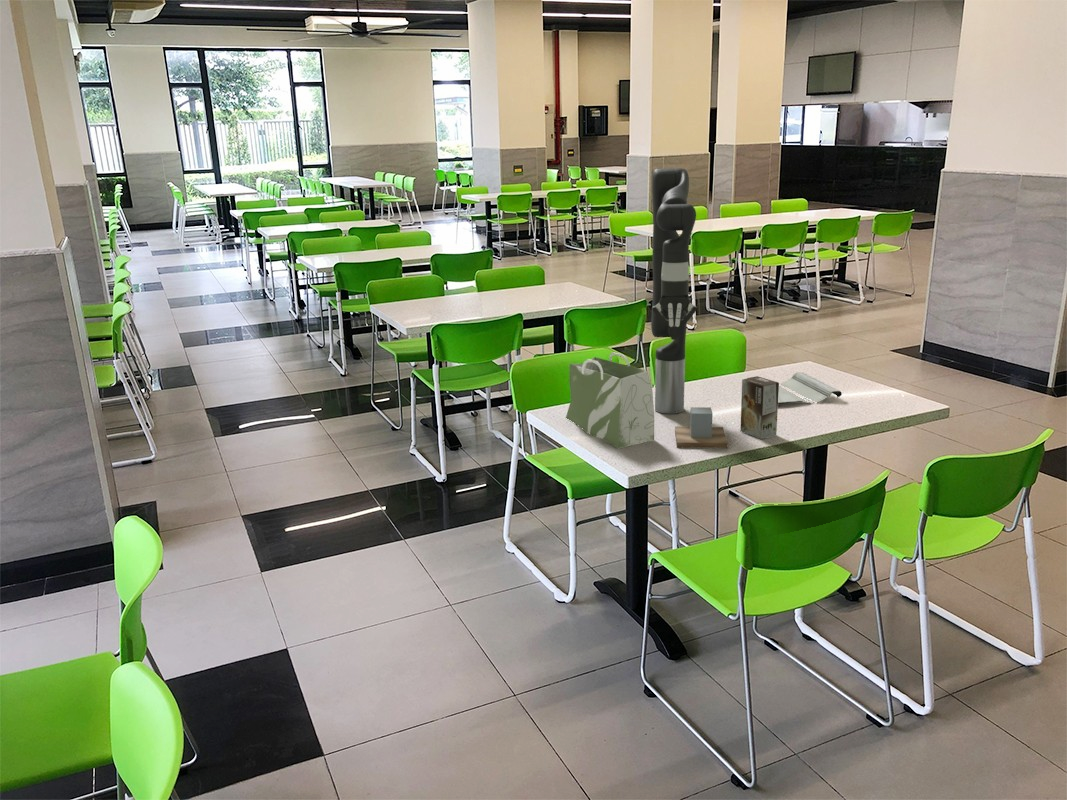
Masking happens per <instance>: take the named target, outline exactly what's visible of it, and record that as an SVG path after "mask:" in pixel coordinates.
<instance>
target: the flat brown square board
mask: <svg viewBox="0 0 1067 800" xmlns="http://www.w3.org/2000/svg"><path fill="white" fill-rule="evenodd" d="M674 434H675V443H676V448H681V447H683V449H684V448H686V449H688V448H689V449H690V448H695V449H696V448H698V449H700V448H701V449H702V448H703V449H706V448H707V449H728V448H729V446H728V445H729V442H728V439H727V436H726V433H725V429H724V426H712V438H691V435H690V426H678V425H677V426H674Z"/></svg>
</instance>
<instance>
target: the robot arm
mask: <svg viewBox="0 0 1067 800" xmlns="http://www.w3.org/2000/svg"><path fill="white" fill-rule="evenodd" d="M689 188H690V177H689V173H688V171H687V170H686V169H685V168H682V167H676V168H675V167H674V168H671V167H670V168H655V169H654V170H653V172H652V177H651V195H652V202H651V203H652V219H653V220H652V221H653V222H652V223H653V227H652V232H653V233H652V256H651V257H652V301H651V302H652V303H651V321H650V325H651V334H652V336H653V337H655V338H670V339H671V340H672V341H670V342H669V343H667V344H665V345H662V346H659V347H658V348H656V349H655V366H654V367H655V370H654V371H655V374H654V375H655V381H654V384H655V386H654V387H655V388H654V389H655V391H654V395H655V396H654V411H656V412H658V413H661V414H670V415H671V414H679V413H682V412H684V410H685V382H686V381H685V378H686V377H685V376H686V339H687V338H686V337H687V323H688V321H690V319H691V318H692V317H693V315H694V314H696V312H697V310H698V307H697V305H694V304H693V303H691V300H690V297H689V291H690V290H689V289H690V287H689V286H690V285H689V284H690V282H689V281H690V267H689V250H690V249H689V248H690V240H691V236H692V232H693V230H694V226H695V224H696V223H695V222H696V219H697V211H696V208H695V206H693V205H692V204H690V203H688V201H687V200H688V197H689V190H690V189H689ZM678 231H679V232H680V231H682V232H681V234H680V235H679V233H678ZM686 309H687V311H686Z"/></svg>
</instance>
